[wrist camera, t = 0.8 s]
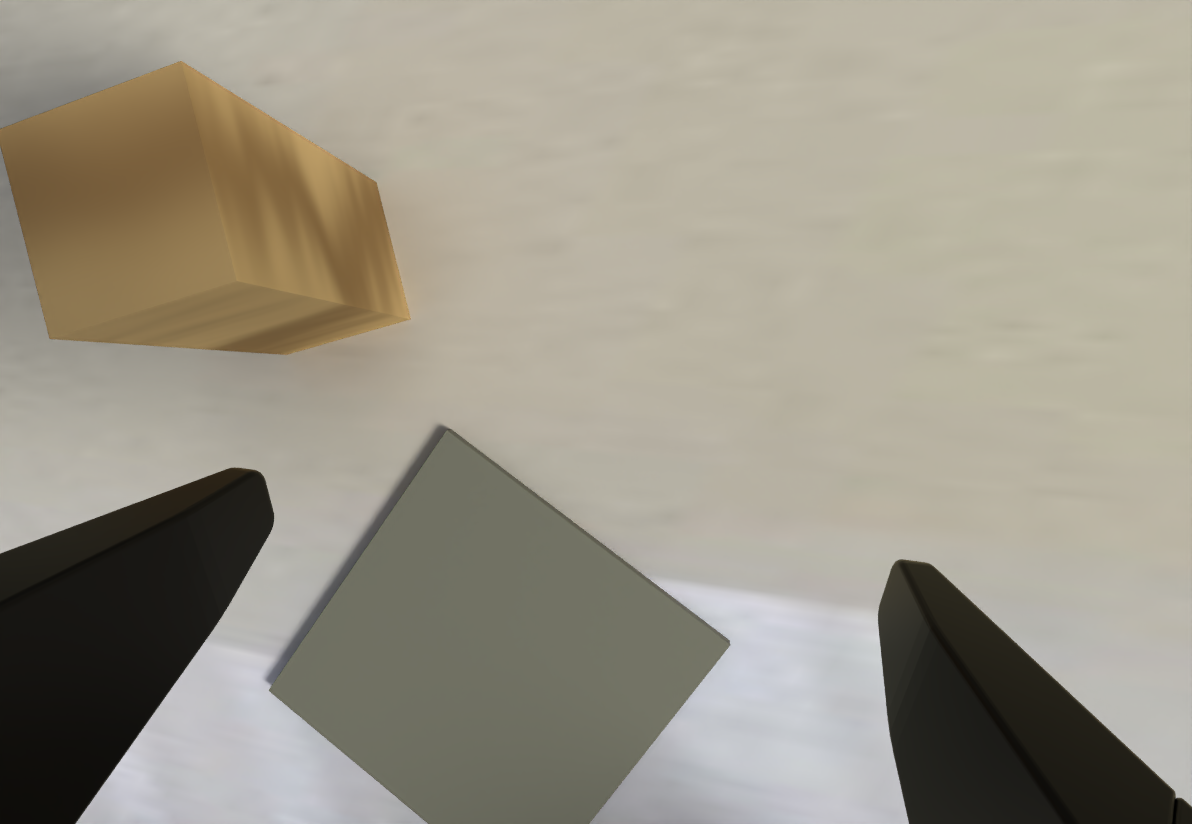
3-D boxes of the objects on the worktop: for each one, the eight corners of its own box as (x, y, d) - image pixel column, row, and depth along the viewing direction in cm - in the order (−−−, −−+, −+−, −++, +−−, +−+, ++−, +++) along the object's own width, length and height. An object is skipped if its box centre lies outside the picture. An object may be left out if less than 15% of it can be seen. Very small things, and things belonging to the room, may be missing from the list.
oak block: (410, 319, 24) (236, 280, 15) (286, 354, 24) (49, 339, 15) (376, 182, 24) (181, 61, 15) (252, 222, 24) (-4, 130, 15)
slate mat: (528, 895, 24) (525, 904, 23) (275, 685, 25) (268, 690, 25) (729, 640, 22) (730, 645, 22) (451, 429, 23) (446, 430, 23)
